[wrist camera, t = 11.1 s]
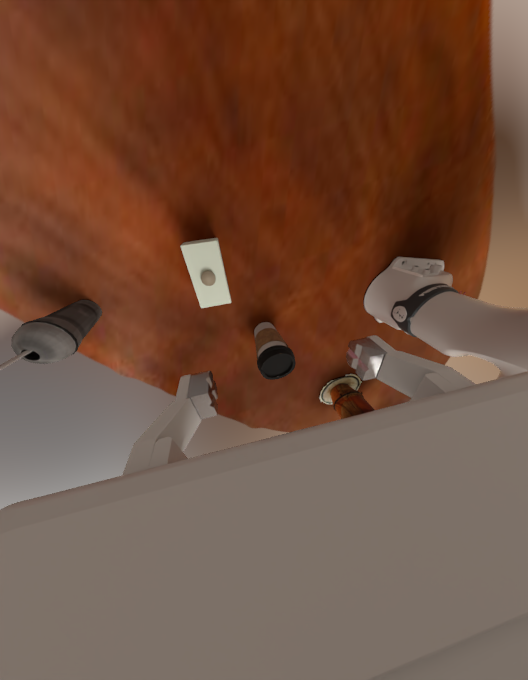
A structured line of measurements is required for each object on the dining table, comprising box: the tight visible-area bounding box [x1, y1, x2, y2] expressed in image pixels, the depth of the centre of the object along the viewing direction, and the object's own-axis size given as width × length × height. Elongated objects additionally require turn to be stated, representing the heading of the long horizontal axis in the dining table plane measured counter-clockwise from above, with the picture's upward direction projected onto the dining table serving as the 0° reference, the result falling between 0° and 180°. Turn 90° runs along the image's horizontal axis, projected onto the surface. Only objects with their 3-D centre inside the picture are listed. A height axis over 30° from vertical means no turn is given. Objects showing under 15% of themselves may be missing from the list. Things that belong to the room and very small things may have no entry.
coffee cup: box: [254, 322, 295, 379], centre depth 46 cm, size 8×8×15 cm
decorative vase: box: [319, 374, 375, 419], centre depth 64 cm, size 21×23×28 cm
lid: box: [180, 238, 231, 308], centre depth 34 cm, size 6×11×5 cm, turn 6°
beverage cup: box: [0, 300, 102, 370], centre depth 32 cm, size 7×7×20 cm
